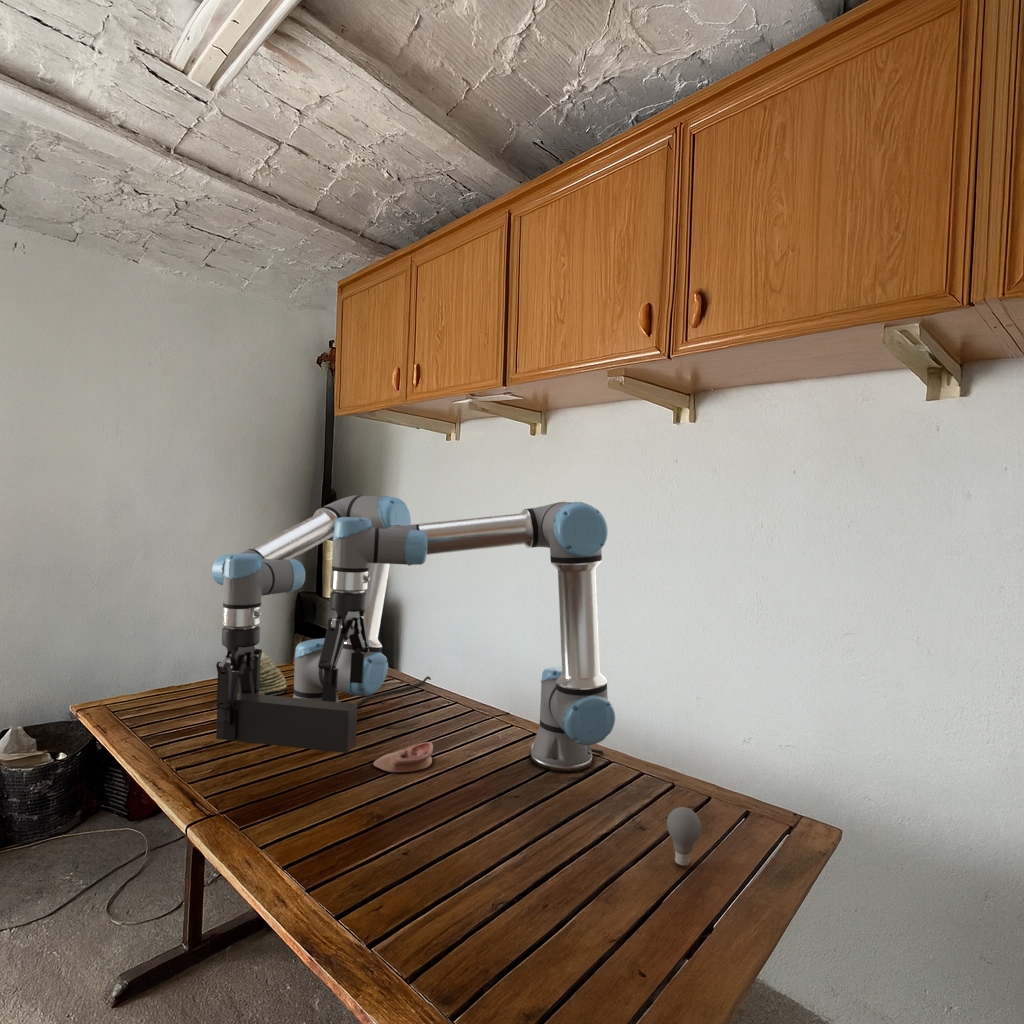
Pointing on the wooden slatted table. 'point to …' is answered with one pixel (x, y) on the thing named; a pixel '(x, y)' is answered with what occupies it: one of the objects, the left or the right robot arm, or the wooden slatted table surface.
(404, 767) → the anatomical model
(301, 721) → the bar
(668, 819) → the light bulb
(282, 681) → the fossil
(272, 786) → the wooden slatted table surface
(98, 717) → the wooden slatted table surface
